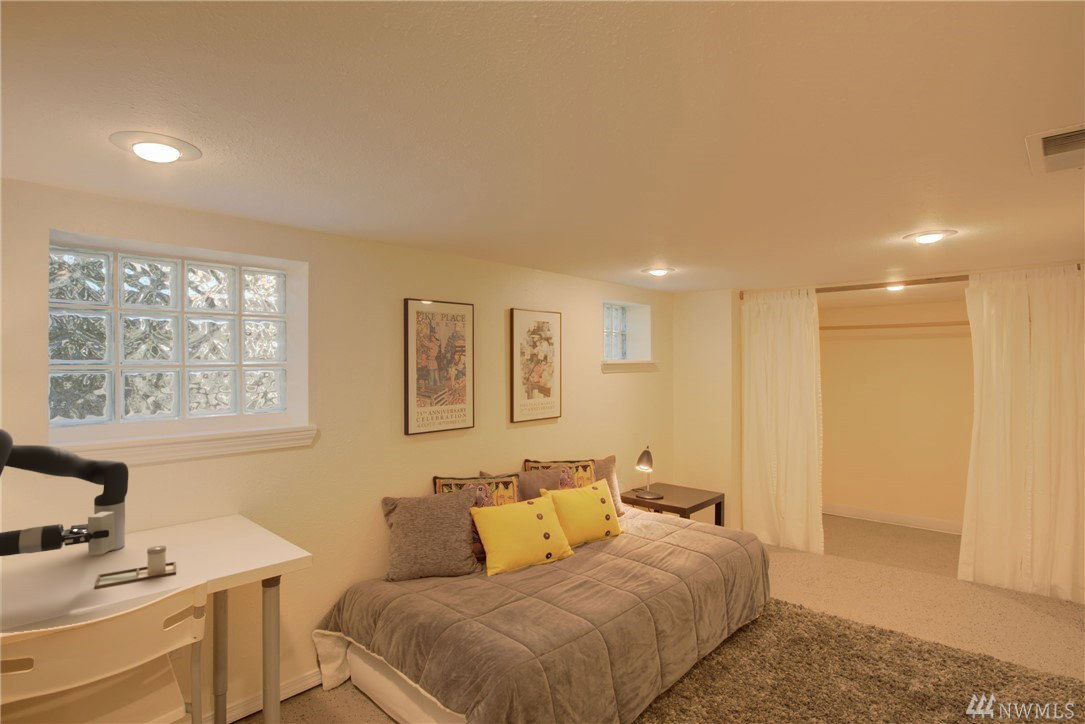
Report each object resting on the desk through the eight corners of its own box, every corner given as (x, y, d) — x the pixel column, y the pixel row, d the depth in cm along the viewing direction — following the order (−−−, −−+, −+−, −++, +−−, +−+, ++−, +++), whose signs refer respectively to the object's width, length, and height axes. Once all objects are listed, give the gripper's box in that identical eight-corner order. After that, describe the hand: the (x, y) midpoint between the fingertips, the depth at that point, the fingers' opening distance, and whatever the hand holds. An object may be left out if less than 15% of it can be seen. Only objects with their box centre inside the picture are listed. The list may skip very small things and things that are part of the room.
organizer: (98, 580, 181) (98, 574, 181) (175, 566, 193) (175, 561, 193) (94, 591, 172) (94, 586, 172) (175, 577, 184) (175, 571, 184)
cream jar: (147, 571, 186) (147, 547, 186) (166, 568, 189) (166, 544, 189) (146, 576, 182) (146, 552, 182) (166, 573, 185) (166, 549, 185)
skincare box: (101, 548, 180) (101, 511, 179) (115, 548, 180) (115, 511, 180) (87, 555, 174) (87, 517, 173) (101, 554, 174) (101, 516, 174)
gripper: (36, 533, 163) (108, 524, 172) (46, 520, 175) (112, 512, 184) (36, 558, 163) (108, 548, 172) (46, 544, 175) (112, 535, 184)
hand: (110, 529), depth 178 cm, fingers closed on skincare box, 7 cm apart
